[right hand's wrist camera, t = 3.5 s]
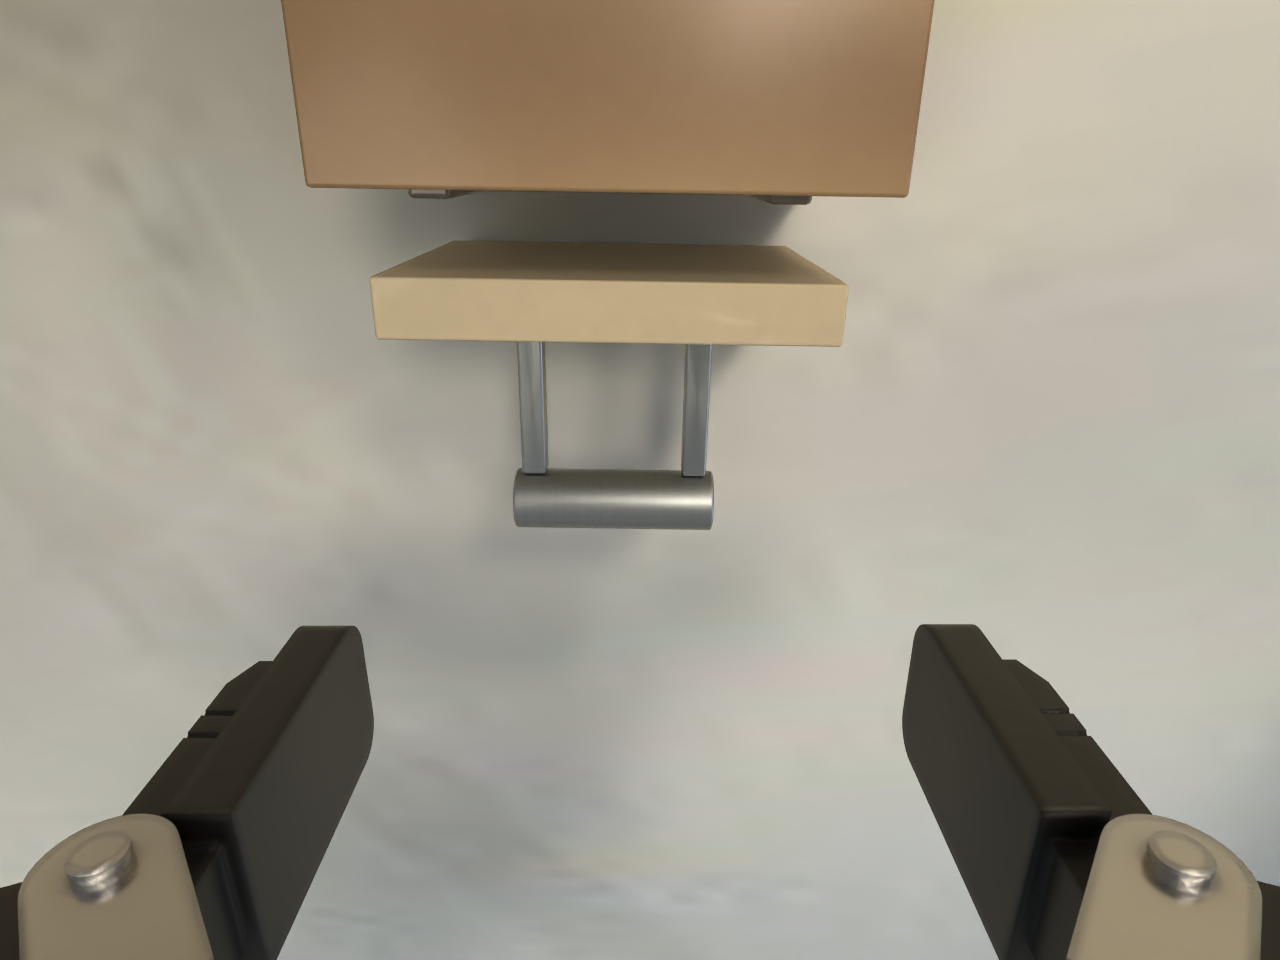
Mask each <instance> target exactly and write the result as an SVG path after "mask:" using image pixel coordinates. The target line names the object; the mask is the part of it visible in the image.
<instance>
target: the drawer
mask: <svg viewBox="0 0 1280 960" xmlns="http://www.w3.org/2000/svg"><path fill="white" fill-rule="evenodd" d="M481 191H486V190H427V189H408V193H409V195H410V197H413V198H442V199H447V198H452V197H457V196H462V195H466V194H471V193H476V192H481ZM749 196H752V197H755V198H758V199H760V200H763V201H766V202H769V203H772V204H799V205H806V204H809V203H810V202H811V200H812V196H784V195H749ZM370 287H371V296H372V305H373V314H374V323H375V332H376V338H377V339H396V340H457V341H517V351H518V375H519V398H520V421H521V445H522V468H519V469H517V472H516V475H515V480H514V489H513V512H514V520H515V523H516V526H518V527H554V528H617V529H680V530H710V529H711V527H712V523H713V511H714V483H713V475H712V472H710V471H706V457H707V437H708V417H709V397H710V378H711V358H712V345H763V346H824V347H840V346H842V343H843V334H844V325H845V317H846V308H847V299H848V290H849V286H848V285H847V284H846V283H844V282H842V281H841V280H839V279H838V278H836V277H834V276H833V275H831V274H830V273H828V272H826V271H825V270H823V269H822V268H820V267H818V266H817V265H815V264H813V263H812V262H810V261H809V260H807V259H805V258H804V257H802V256H801V255H799V254H797V253H796V252H794V251H792V250H791V249H789V248H788V247H786V246H743V245H683V244H623V243H563V242H503V241H452V242H450V243H447V244H445V245H443V246H440V247H438V248H436V249H434V250H431V251H429V252H427V253H424V254H422V255H420V256H418V257H415V258H413V259H411V260H408V261H406V262H404V263H402V264H399V265H397V266H395V267H392V268H390V269H388V270H385V271H383V272H381V273H379V274H376V275H374V276H372V277H370ZM545 342H580V343H641V344H686V347H685V374H684V400H683V427H682V453H681V471H677V470H614V469H552V468H548V431H547V398H546V364H545Z"/></svg>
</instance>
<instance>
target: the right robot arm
mask: <svg viewBox="0 0 1280 960" xmlns="http://www.w3.org/2000/svg"><path fill="white" fill-rule="evenodd" d="M902 728H903V738H904V744H905V748H906V752H907V755H908V758H909V761H910V763H911V765H912V767H913V770H914V772H915V774H916V776H917V778H918V781H919V783H920V785H921V787H922V790H923V792H924V794H925V796H926V798H927V801H928V803H929V805H930V807H931V809H932V812H933V814H934V816H935V818H936V821H937V823H938V825H939V827H940V829H941V832H942V834H943V836H944V838H945V841H946V843H947V845H948V847H949V849H950V852H951V854H952V856H953V858H954V861H955V863H956V865H957V867H958V869H959V872H960V874H961V876H962V878H963V881H964V883H965V885H966V887H967V889H968V892H969V894H970V896H971V898H972V901H973V903H974V905H975V907H976V909H977V912H978V914H979V916H980V918H981V921H982V923H983V925H984V927H985V929H986V932H987V934H988V936H989V938H990V940H991V943H992V945H993V947H994V949H995V952H996V954H997V956H998V958H999V960H1280V887H1279V886H1275V885H1271V884H1267V883H1263V882H1259V881H1256V879H1255V877H1254V876H1253V874H1252V872H1251V871H1250V870H1249V869H1248V868H1247V866H1246V865H1245V864H1244V863H1243V862H1242V861H1241V860H1240V859H1239V858H1238V857H1237V856H1236V855H1235V854H1234V853H1233V852H1232V851H1230V850H1229V849H1228V848H1227V847H1225V846H1224V845H1223V844H1221V843H1220V842H1218V841H1217V840H1215V839H1214V838H1212V837H1211V836H1209V835H1207V834H1205V833H1203V832H1201V831H1200V830H1198V829H1196V828H1193V827H1191V826H1189V825H1187V824H1184V823H1181V822H1179V821H1176V820H1173V819H1169V818H1165V817H1161V816H1156V815H1152V813H1151V812H1150V811H1149V810H1148V808H1147V807H1146V806H1145V804H1144V803H1143V802H1142V801H1141V799H1140V798H1139V797H1138V796H1137V794H1136V793H1135V792H1134V790H1133V789H1132V788H1131V787H1130V785H1129V784H1128V783H1127V782H1126V780H1125V779H1124V778H1123V776H1122V775H1121V774H1120V773H1119V771H1118V770H1117V769H1116V768H1115V766H1114V765H1113V764H1112V762H1111V761H1110V760H1109V759H1108V757H1107V756H1106V755H1105V754H1104V752H1103V751H1102V750H1101V748H1100V747H1099V746H1098V745H1097V743H1096V742H1095V741H1094V740H1093V738H1092V737H1091V736H1087V734H1086V729H1085V728H1084V727H1083V726H1082V724H1081V723H1080V722H1079V720H1078V719H1077V718H1076V717H1075V715H1074V714H1070V713H1069V708H1068V706H1067V705H1066V704H1065V703H1064V701H1063V700H1062V699H1061V698H1060V696H1059V695H1058V694H1057V692H1056V691H1055V690H1054V689H1053V687H1052V686H1051V685H1050V684H1049V682H1047V681H1046V680H1045V679H1043V678H1042V677H1040V676H1039V675H1037V674H1036V673H1035V672H1033V671H1032V670H1030V669H1029V668H1027V667H1026V666H1024V665H1023V664H1022V663H1020V662H1019V661H1017V660H1002V659H1001V657H1000V656H999V655H998V653H997V652H996V650H995V649H994V648H993V646H992V645H991V644H990V642H989V641H988V639H987V638H986V637H985V635H984V634H983V633H982V631H981V630H980V629H979V628H978V627H977V626H976V625H973V624H923V625H920V626H919V627H918V628H917V630H916V633H915V636H914V641H913V648H912V654H911V661H910V667H909V674H908V681H907V687H906V694H905V701H904V707H903V716H902ZM373 730H374V717H373V709H372V702H371V696H370V689H369V683H368V676H367V670H366V663H365V657H364V650H363V643H362V638H361V635H360V632H359V630H358V629H357V627H355V626H301V627H299V628H297V630H296V631H295V632H294V633H293V635H292V636H291V637H290V639H289V640H288V641H287V643H286V644H285V645H284V647H283V648H282V649H281V651H280V652H279V654H278V655H277V656H276V658H275V659H274V660H273V661H259V662H257V663H256V664H255V665H253V666H252V667H250V668H249V669H247V670H246V671H244V672H243V673H241V674H240V675H239V676H237V677H236V678H234V679H233V680H231V681H230V682H228V683H227V684H226V685H225V686H224V688H223V689H222V690H221V691H220V693H219V694H218V695H217V696H216V698H215V699H214V700H213V702H212V703H211V704H210V705H209V707H208V708H207V709H206V713H205V716H201V717H200V718H199V719H198V720H197V722H196V723H195V724H194V725H193V727H192V728H191V729H190V731H189V732H188V737H187V738H183V739H182V741H181V742H180V743H179V744H178V746H177V747H176V748H175V749H174V751H173V752H172V753H171V755H170V756H169V757H168V758H167V760H166V761H165V762H164V763H163V765H162V766H161V767H160V768H159V770H158V771H157V772H156V773H155V775H154V776H153V777H152V778H151V780H150V781H149V782H148V784H147V785H146V786H145V787H144V789H143V790H142V791H141V792H140V794H139V795H138V796H137V797H136V799H135V800H134V801H133V802H132V804H131V805H130V806H129V807H128V809H127V810H126V811H125V813H124V814H123V815H122V816H119V817H115V818H111V819H107V820H104V821H101V822H99V823H96V824H93V825H91V826H89V827H87V828H84V829H82V830H80V831H79V832H77V833H75V834H73V835H71V836H69V837H68V838H66V839H65V840H63V841H62V842H60V843H59V844H57V845H56V846H55V847H53V848H52V849H51V850H50V851H48V852H47V853H46V854H45V855H44V856H43V857H42V858H41V859H40V860H39V861H38V862H37V863H36V864H35V865H34V866H33V868H32V869H31V870H30V871H29V872H28V874H27V876H26V877H25V879H24V881H23V882H21V883H17V884H14V885H10V886H6V887H2V888H0V960H277V957H278V955H279V953H280V951H281V949H282V946H283V944H284V942H285V940H286V938H287V935H288V933H289V931H290V929H291V927H292V924H293V922H294V920H295V918H296V916H297V914H298V911H299V909H300V907H301V905H302V903H303V900H304V898H305V896H306V894H307V892H308V889H309V887H310V885H311V883H312V881H313V878H314V876H315V874H316V872H317V870H318V867H319V865H320V863H321V861H322V859H323V856H324V854H325V852H326V850H327V848H328V846H329V843H330V841H331V839H332V837H333V835H334V832H335V830H336V828H337V826H338V824H339V821H340V819H341V817H342V815H343V813H344V810H345V808H346V806H347V804H348V802H349V799H350V797H351V795H352V793H353V791H354V788H355V786H356V784H357V782H358V780H359V778H360V775H361V773H362V771H363V769H364V767H365V764H366V762H367V760H368V757H369V754H370V750H371V746H372V740H373Z"/></svg>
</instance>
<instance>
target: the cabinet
mask: <svg viewBox="0 0 1280 960" xmlns="http://www.w3.org/2000/svg"><path fill="white" fill-rule="evenodd" d="M281 2H282V10H283V17H284V25H285V32H286V39H287V47H288V54H289V62H290V69H291V77H292V84H293V92H294V99H295V107H296V114H297V122H298V129H299V137H300V144H301V152H302V159H303V166H304V174H305V181H306V185H307V186H308V187H311V188H367V189H427V190H486V191H546V192H605V193H665V194H724V195H784V196H843V197H906V196H907V195H908V193H909V186H910V178H911V171H912V163H913V156H914V148H915V141H916V134H917V126H918V119H919V111H920V104H921V96H922V89H923V82H924V74H925V67H926V59H927V52H928V44H929V37H930V30H931V22H932V15H933V7H934V0H281Z"/></svg>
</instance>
